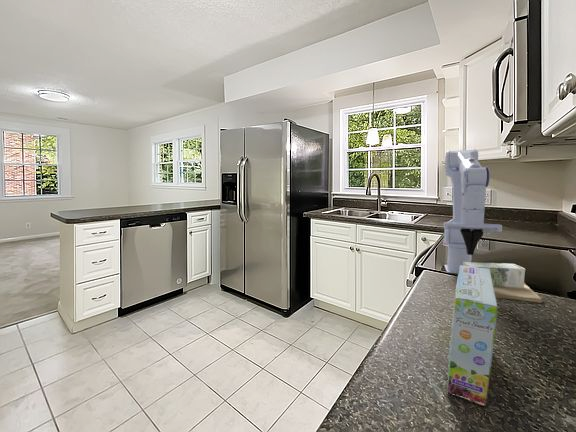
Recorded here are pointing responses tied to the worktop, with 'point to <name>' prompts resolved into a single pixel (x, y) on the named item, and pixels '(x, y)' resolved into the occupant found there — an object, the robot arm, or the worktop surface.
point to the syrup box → (502, 273)
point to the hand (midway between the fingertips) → (469, 254)
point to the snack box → (472, 334)
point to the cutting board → (517, 293)
